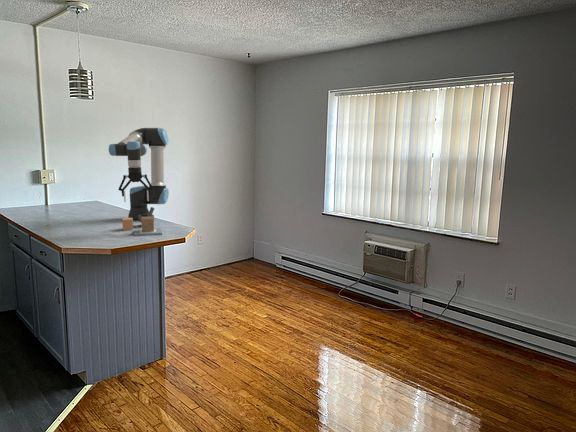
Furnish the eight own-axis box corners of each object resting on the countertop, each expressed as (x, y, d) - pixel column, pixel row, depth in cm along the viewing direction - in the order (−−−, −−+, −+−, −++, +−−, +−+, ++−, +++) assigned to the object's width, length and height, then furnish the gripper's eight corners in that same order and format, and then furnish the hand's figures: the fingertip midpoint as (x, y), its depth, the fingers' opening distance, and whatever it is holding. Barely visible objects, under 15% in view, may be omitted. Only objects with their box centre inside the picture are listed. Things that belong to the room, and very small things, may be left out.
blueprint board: (134, 230, 277) (134, 228, 277) (161, 229, 282) (160, 227, 282) (134, 236, 262) (133, 234, 262) (162, 234, 267) (162, 232, 267)
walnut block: (142, 229, 274) (141, 217, 273) (153, 229, 277) (153, 216, 275) (142, 232, 268) (141, 219, 267) (154, 231, 270) (153, 218, 269)
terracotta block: (123, 228, 284) (122, 218, 282) (133, 228, 286) (132, 217, 284) (122, 230, 278) (122, 219, 277) (132, 230, 280) (132, 219, 279)
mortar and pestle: (144, 227, 287) (143, 209, 285) (136, 225, 293) (135, 207, 291) (159, 225, 296) (158, 207, 294) (151, 223, 302) (150, 206, 300)
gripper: (112, 167, 263) (115, 203, 267) (156, 166, 271) (157, 201, 275) (112, 166, 270) (115, 201, 274) (155, 166, 278) (157, 199, 282)
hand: (136, 201), depth 275 cm, fingers open, 13 cm apart
